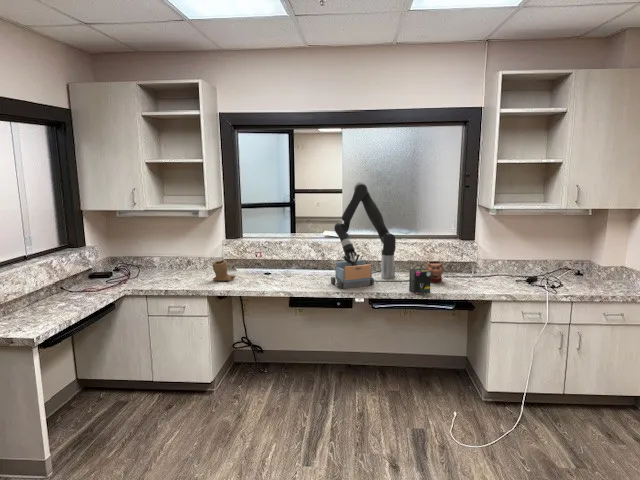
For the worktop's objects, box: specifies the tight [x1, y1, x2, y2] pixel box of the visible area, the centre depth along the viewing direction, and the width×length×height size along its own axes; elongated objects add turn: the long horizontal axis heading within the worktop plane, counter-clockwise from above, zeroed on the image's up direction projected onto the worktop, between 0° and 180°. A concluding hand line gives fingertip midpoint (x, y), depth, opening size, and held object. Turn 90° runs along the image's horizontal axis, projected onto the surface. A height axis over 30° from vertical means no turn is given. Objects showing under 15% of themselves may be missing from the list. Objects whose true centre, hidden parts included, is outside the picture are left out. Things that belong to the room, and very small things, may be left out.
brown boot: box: [211, 259, 236, 282], centre depth 304 cm, size 15×12×15 cm
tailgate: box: [345, 263, 372, 280], centre depth 281 cm, size 19×2×9 cm, turn 110°
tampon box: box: [408, 267, 432, 295], centre depth 270 cm, size 11×9×15 cm
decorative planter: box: [425, 260, 444, 284], centre depth 296 cm, size 20×12×14 cm, turn 177°
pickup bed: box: [330, 259, 375, 290], centre depth 290 cm, size 26×17×16 cm, turn 110°
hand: (355, 267), depth 285 cm, fingers closed
